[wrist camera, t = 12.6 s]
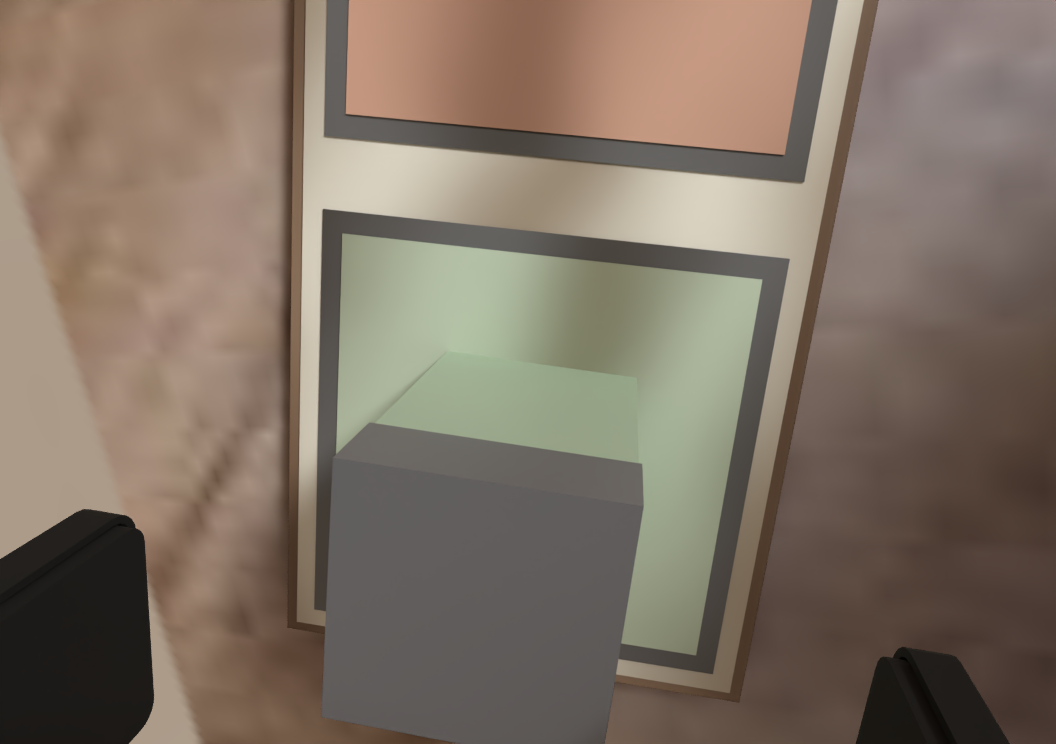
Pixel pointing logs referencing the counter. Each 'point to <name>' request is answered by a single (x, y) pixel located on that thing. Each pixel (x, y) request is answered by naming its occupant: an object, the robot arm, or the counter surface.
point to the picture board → (577, 255)
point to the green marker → (485, 555)
